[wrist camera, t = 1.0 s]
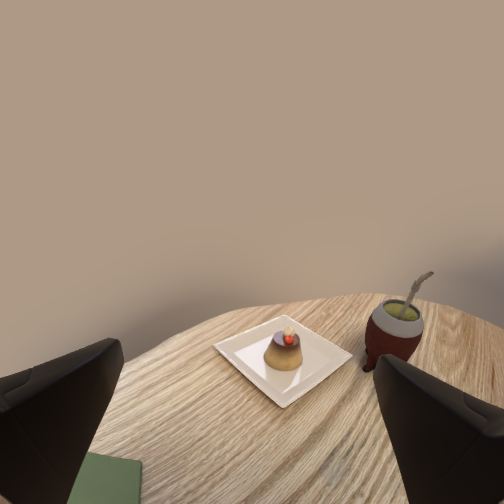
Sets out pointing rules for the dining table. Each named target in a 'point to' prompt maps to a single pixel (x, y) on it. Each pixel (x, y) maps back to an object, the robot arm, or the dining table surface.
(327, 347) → the dessert
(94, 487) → the coaster
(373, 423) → the dining table surface
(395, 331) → the mate gourd
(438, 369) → the dining table surface
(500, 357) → the dining table surface
